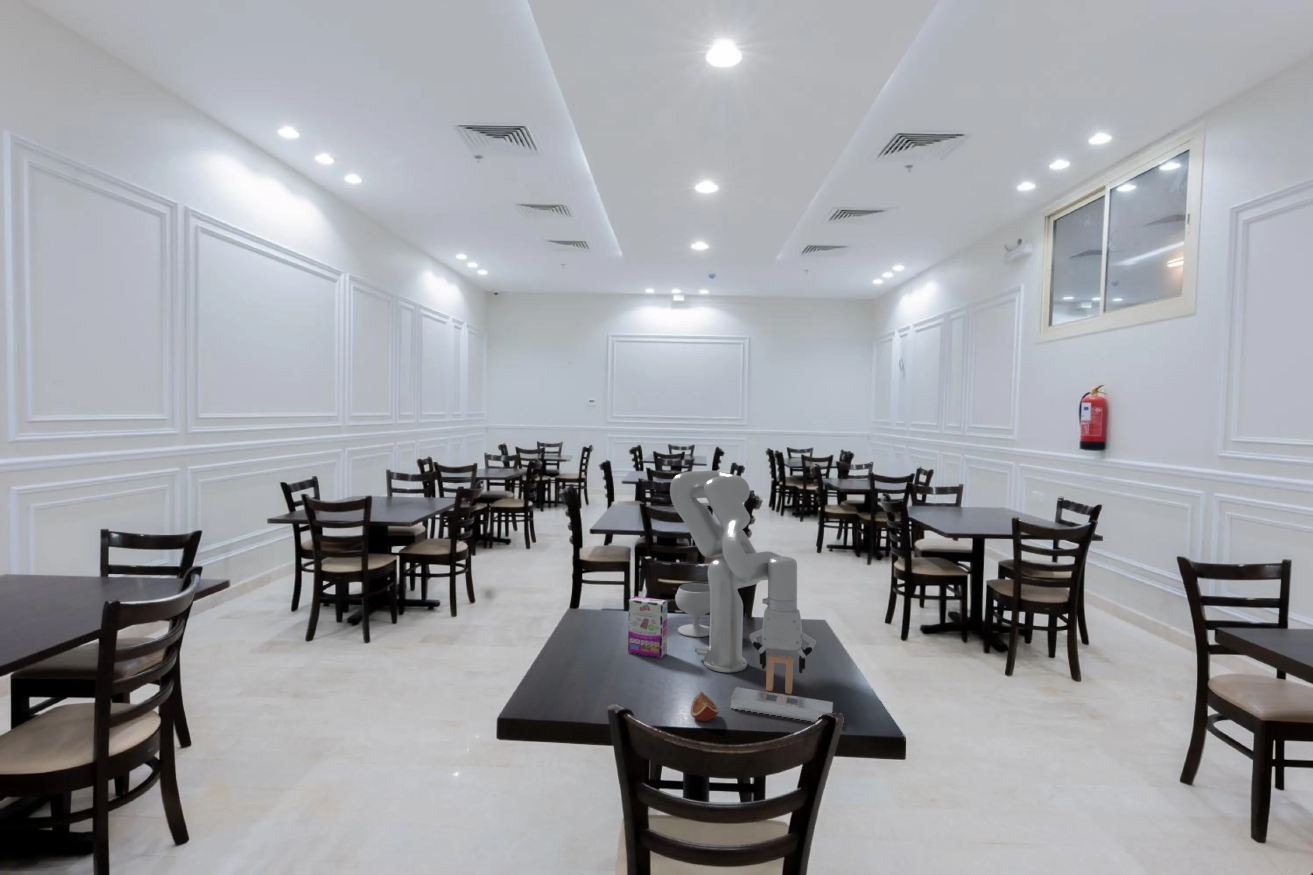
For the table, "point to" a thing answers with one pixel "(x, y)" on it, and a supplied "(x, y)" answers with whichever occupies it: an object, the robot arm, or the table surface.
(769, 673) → the orange u-shaped block
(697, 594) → the chalice
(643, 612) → the candy bar box
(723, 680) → the table surface
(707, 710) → the fruit slice
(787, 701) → the rail
